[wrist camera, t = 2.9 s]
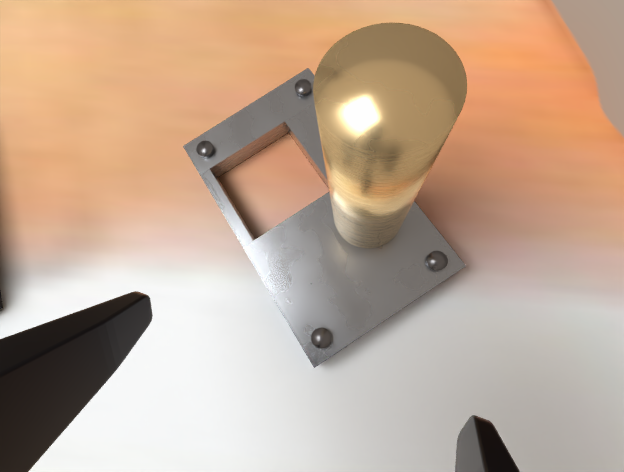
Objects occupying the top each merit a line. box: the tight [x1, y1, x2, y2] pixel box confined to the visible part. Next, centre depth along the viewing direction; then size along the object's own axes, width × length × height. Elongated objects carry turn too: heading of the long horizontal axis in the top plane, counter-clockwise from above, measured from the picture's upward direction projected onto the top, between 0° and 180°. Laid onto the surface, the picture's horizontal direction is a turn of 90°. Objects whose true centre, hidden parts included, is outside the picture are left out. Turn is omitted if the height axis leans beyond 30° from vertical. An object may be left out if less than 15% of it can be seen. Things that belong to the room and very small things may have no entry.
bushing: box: [313, 23, 467, 248], centre depth 16 cm, size 4×4×12 cm
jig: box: [183, 68, 466, 368], centre depth 23 cm, size 18×11×2 cm, turn 33°
